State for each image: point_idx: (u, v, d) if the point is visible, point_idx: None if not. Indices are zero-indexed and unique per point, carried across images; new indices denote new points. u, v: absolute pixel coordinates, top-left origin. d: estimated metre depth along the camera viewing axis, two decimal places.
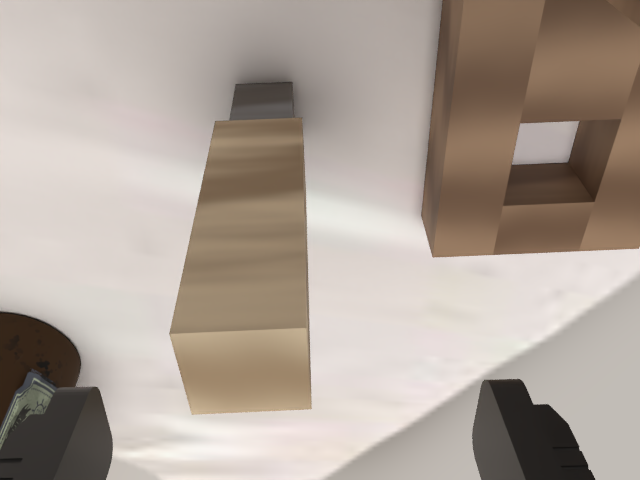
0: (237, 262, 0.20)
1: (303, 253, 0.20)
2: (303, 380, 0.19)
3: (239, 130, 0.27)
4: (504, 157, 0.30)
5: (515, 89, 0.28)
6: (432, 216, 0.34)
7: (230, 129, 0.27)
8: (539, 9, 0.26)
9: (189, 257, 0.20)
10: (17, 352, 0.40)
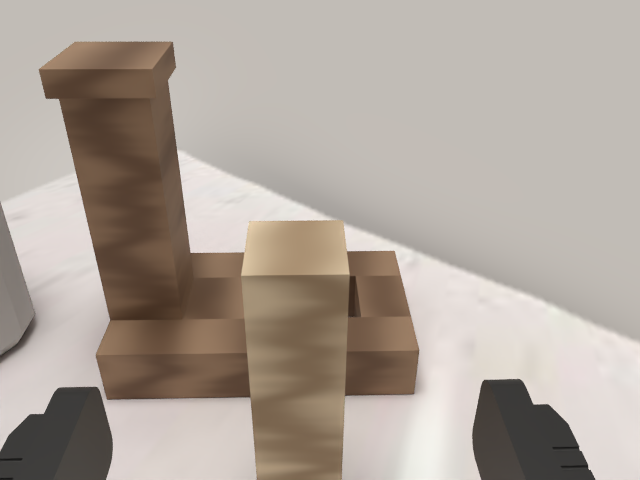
0: None
1: None
2: (305, 223, 0.25)
3: None
4: None
5: None
6: (385, 363, 0.40)
7: None
8: (211, 320, 0.41)
9: None
10: None
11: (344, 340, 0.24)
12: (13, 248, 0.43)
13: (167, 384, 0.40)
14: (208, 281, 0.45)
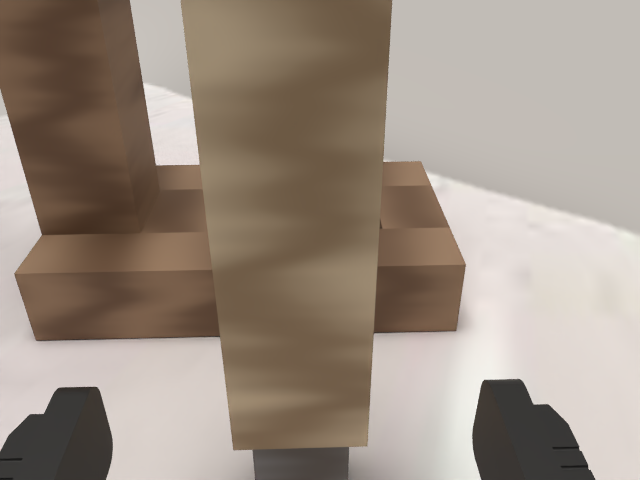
0: None
1: None
2: None
3: None
4: None
5: None
6: (419, 285, 0.29)
7: None
8: (179, 234, 0.30)
9: (198, 146, 0.13)
10: None
11: (379, 138, 0.13)
12: None
13: (117, 317, 0.29)
14: (179, 193, 0.34)
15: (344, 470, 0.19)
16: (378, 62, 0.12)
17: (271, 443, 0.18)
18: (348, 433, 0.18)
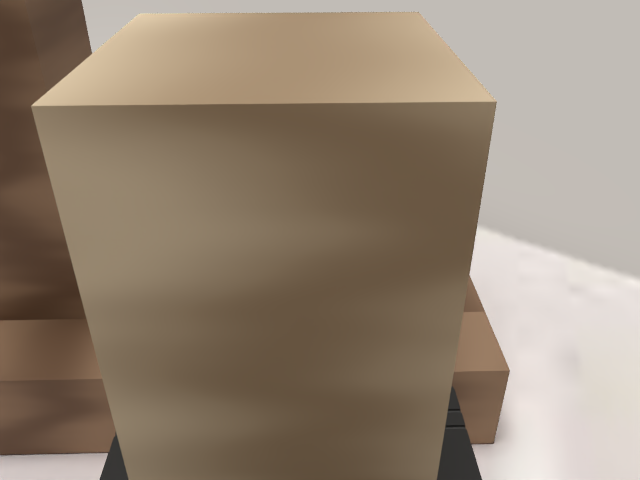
0: None
1: None
2: (308, 15, 0.08)
3: None
4: None
5: None
6: None
7: None
8: None
9: (107, 384, 0.07)
10: None
11: (444, 373, 0.07)
12: None
13: (70, 430, 0.23)
14: None
15: None
16: (452, 257, 0.06)
17: None
18: None
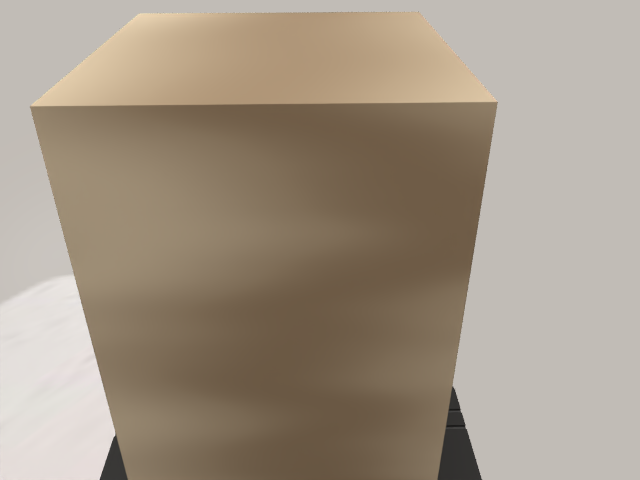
0: None
1: None
2: (308, 16, 0.08)
3: None
4: None
5: None
6: None
7: None
8: None
9: (107, 385, 0.07)
10: None
11: (445, 374, 0.07)
12: None
13: None
14: None
15: None
16: (452, 257, 0.06)
17: None
18: None
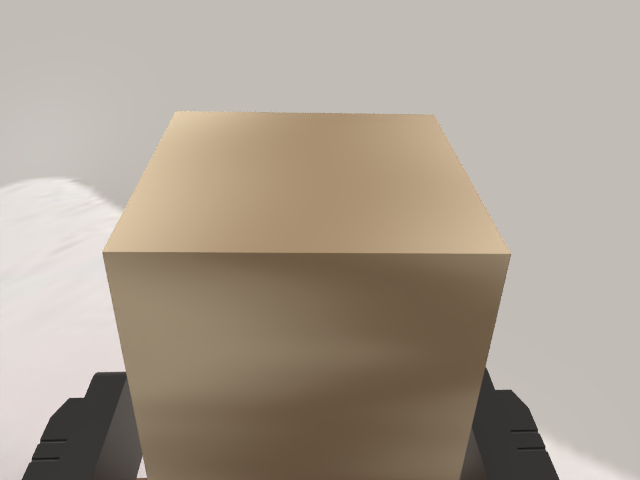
0: None
1: None
2: (332, 117, 0.09)
3: None
4: None
5: None
6: None
7: None
8: None
9: None
10: None
11: (454, 465, 0.08)
12: None
13: None
14: None
15: None
16: (466, 373, 0.07)
17: None
18: None
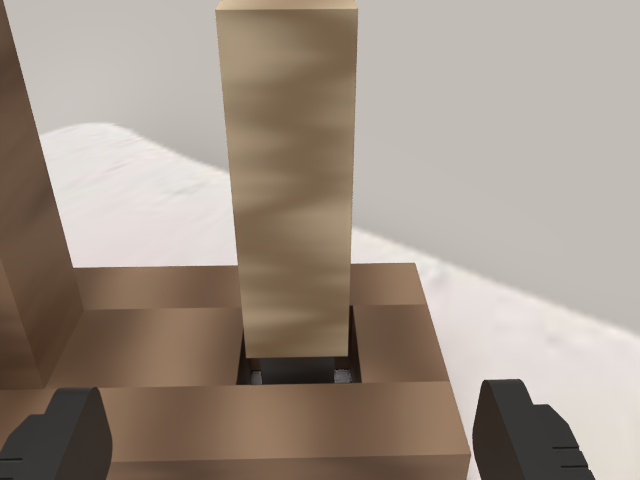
0: None
1: None
2: None
3: None
4: (284, 392, 0.23)
5: (187, 396, 0.23)
6: (408, 476, 0.21)
7: None
8: None
9: (225, 123, 0.18)
10: None
11: (351, 118, 0.18)
12: None
13: None
14: (107, 316, 0.27)
15: (331, 379, 0.25)
16: (349, 66, 0.18)
17: (275, 352, 0.23)
18: (333, 345, 0.23)
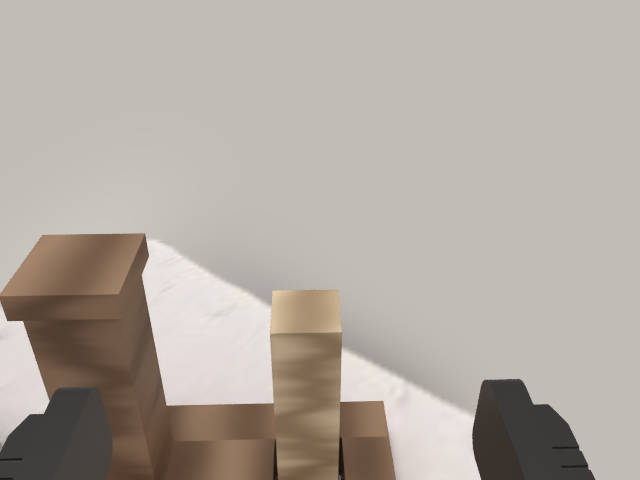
0: None
1: None
2: (312, 292, 0.36)
3: None
4: None
5: None
6: None
7: None
8: None
9: (272, 376, 0.35)
10: None
11: (339, 374, 0.35)
12: None
13: None
14: (188, 446, 0.44)
15: None
16: (337, 354, 0.34)
17: None
18: (329, 476, 0.40)
